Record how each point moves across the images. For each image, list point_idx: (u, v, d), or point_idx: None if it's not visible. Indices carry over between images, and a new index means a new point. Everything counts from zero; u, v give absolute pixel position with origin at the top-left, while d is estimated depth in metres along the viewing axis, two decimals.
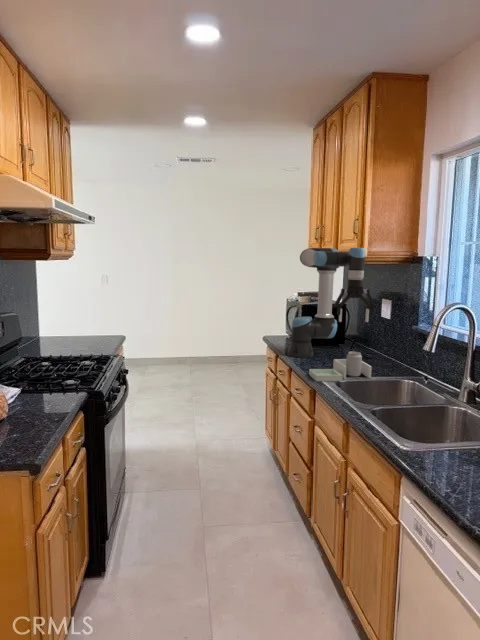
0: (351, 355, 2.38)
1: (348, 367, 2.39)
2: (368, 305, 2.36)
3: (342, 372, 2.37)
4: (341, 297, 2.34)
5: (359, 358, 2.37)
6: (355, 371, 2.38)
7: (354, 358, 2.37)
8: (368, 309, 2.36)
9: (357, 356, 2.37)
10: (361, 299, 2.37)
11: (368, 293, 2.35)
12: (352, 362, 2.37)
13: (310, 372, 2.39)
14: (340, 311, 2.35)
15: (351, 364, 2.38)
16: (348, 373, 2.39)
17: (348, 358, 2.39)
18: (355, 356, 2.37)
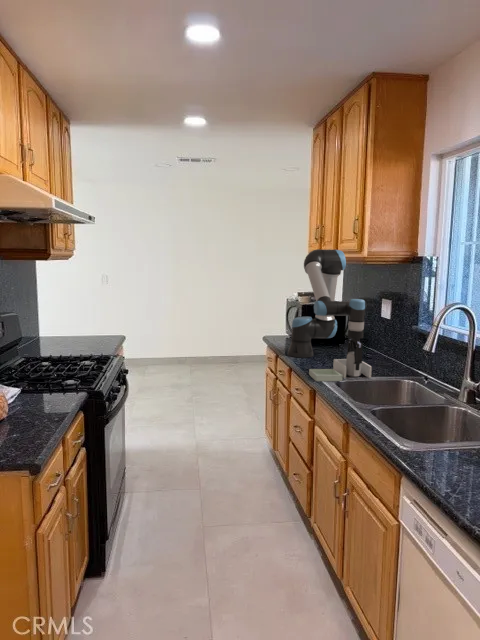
0: (351, 355, 2.38)
1: (348, 367, 2.39)
2: (355, 359, 2.36)
3: (342, 372, 2.37)
4: (348, 347, 2.46)
5: None
6: None
7: (354, 358, 2.37)
8: (354, 363, 2.37)
9: None
10: None
11: (356, 347, 2.34)
12: (352, 362, 2.37)
13: (310, 372, 2.39)
14: None
15: (351, 364, 2.38)
16: (348, 373, 2.39)
17: (348, 358, 2.39)
18: None
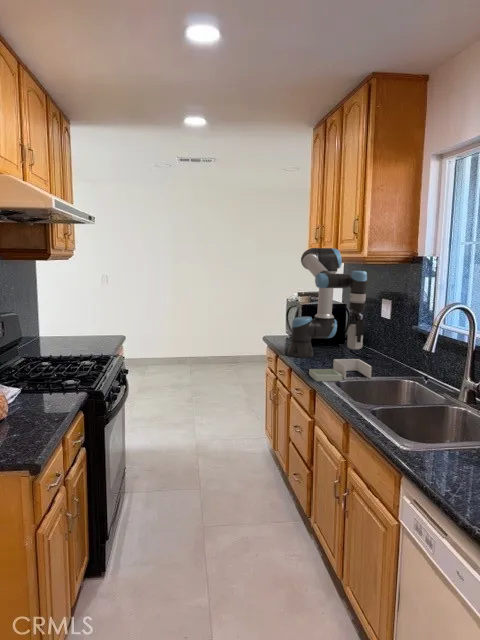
0: (352, 327, 2.36)
1: (349, 339, 2.38)
2: (356, 331, 2.34)
3: (342, 372, 2.37)
4: (349, 320, 2.44)
5: None
6: None
7: (355, 330, 2.35)
8: (355, 335, 2.35)
9: None
10: (358, 323, 2.36)
11: (358, 319, 2.32)
12: (353, 334, 2.36)
13: (310, 372, 2.39)
14: None
15: (352, 337, 2.36)
16: (349, 345, 2.38)
17: (349, 330, 2.37)
18: None
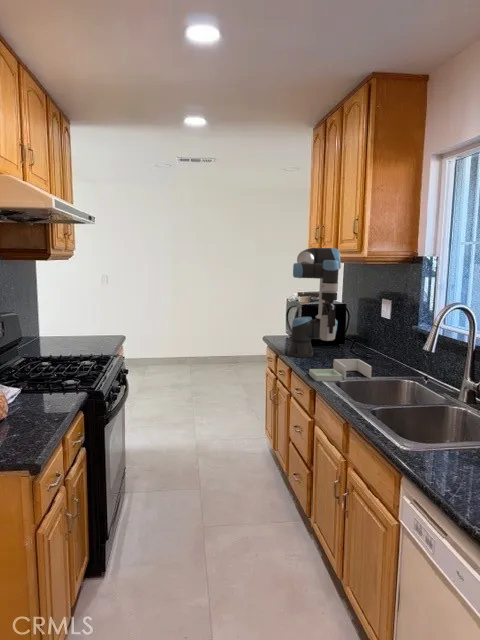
0: (324, 318, 2.29)
1: (322, 331, 2.31)
2: (328, 322, 2.27)
3: (342, 372, 2.37)
4: (322, 311, 2.37)
5: None
6: None
7: (327, 321, 2.28)
8: (327, 326, 2.28)
9: None
10: None
11: (330, 309, 2.25)
12: (325, 325, 2.29)
13: (310, 372, 2.39)
14: None
15: (324, 328, 2.29)
16: (322, 337, 2.31)
17: (321, 321, 2.30)
18: None
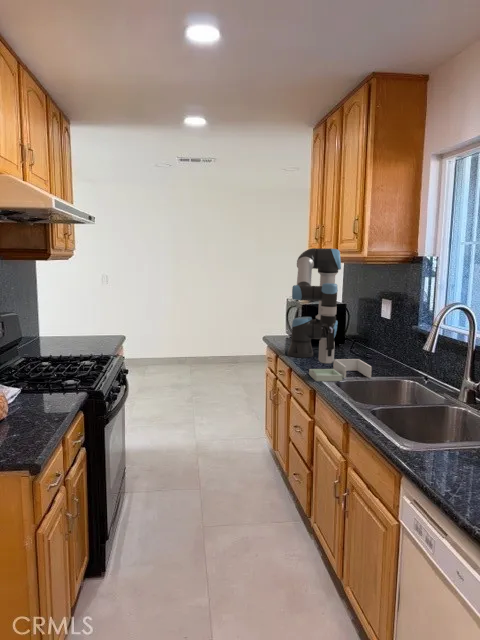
0: (323, 341, 2.31)
1: (320, 353, 2.32)
2: (327, 345, 2.29)
3: (342, 372, 2.37)
4: (321, 333, 2.38)
5: None
6: None
7: (326, 344, 2.30)
8: None
9: None
10: None
11: (328, 332, 2.27)
12: (324, 348, 2.30)
13: (310, 372, 2.39)
14: None
15: (323, 350, 2.31)
16: (320, 359, 2.32)
17: (320, 344, 2.32)
18: None
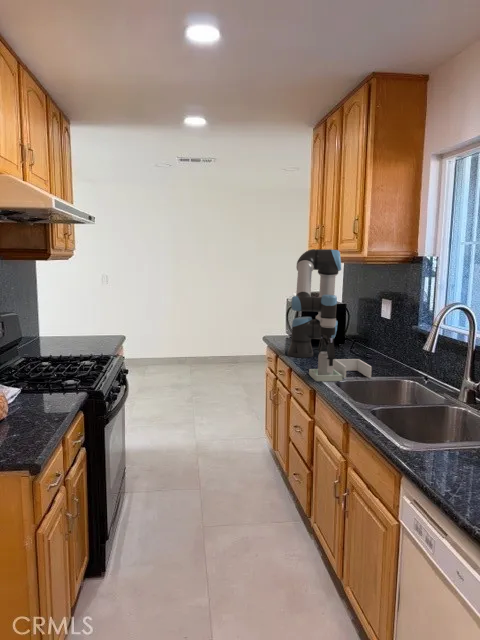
0: (322, 355, 2.32)
1: (320, 367, 2.33)
2: (328, 355, 2.27)
3: (342, 372, 2.37)
4: (320, 342, 2.40)
5: None
6: None
7: (325, 358, 2.31)
8: None
9: None
10: None
11: (328, 342, 2.27)
12: (323, 363, 2.32)
13: (310, 372, 2.39)
14: None
15: (322, 365, 2.32)
16: (320, 374, 2.33)
17: (320, 358, 2.33)
18: (326, 356, 2.31)
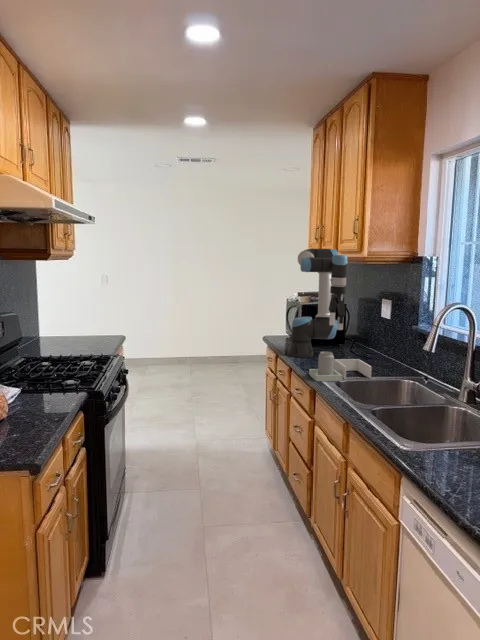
0: (323, 355, 2.32)
1: (320, 367, 2.33)
2: (338, 313, 2.34)
3: (342, 372, 2.37)
4: (330, 302, 2.47)
5: (331, 358, 2.31)
6: (327, 371, 2.32)
7: (326, 358, 2.31)
8: (338, 317, 2.34)
9: (329, 356, 2.31)
10: None
11: (339, 300, 2.33)
12: (323, 362, 2.32)
13: (310, 372, 2.39)
14: None
15: (322, 365, 2.32)
16: (320, 374, 2.33)
17: (320, 358, 2.33)
18: (327, 356, 2.31)
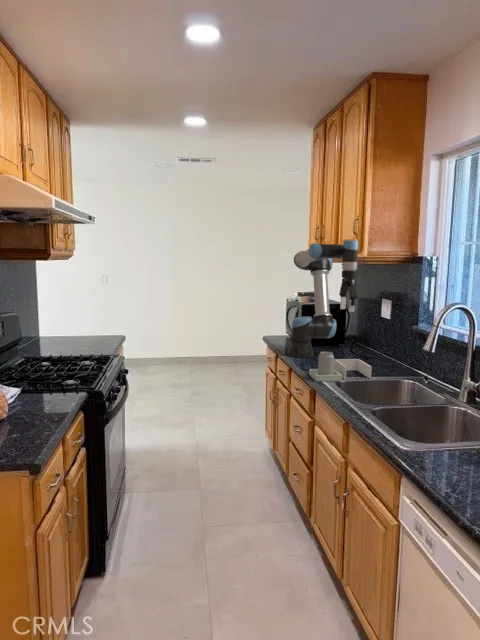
0: (323, 355, 2.32)
1: (320, 367, 2.33)
2: (350, 295, 2.43)
3: (342, 372, 2.37)
4: (341, 286, 2.56)
5: (331, 358, 2.31)
6: (327, 371, 2.32)
7: (326, 358, 2.31)
8: None
9: (329, 356, 2.31)
10: (351, 289, 2.46)
11: (350, 284, 2.43)
12: (323, 363, 2.32)
13: (310, 372, 2.39)
14: None
15: (322, 365, 2.32)
16: (320, 374, 2.33)
17: (320, 358, 2.33)
18: (327, 356, 2.31)
